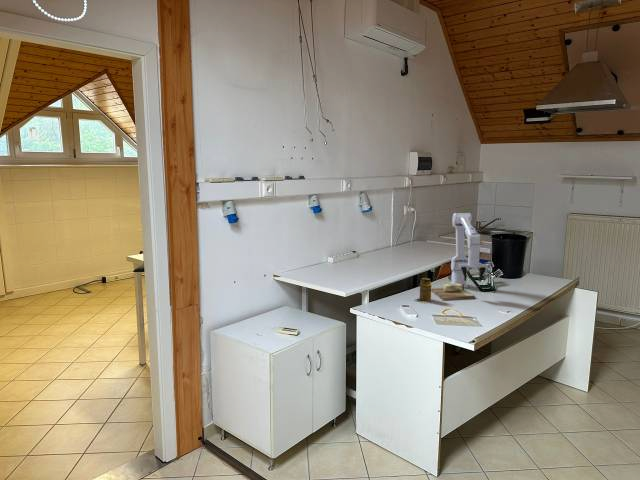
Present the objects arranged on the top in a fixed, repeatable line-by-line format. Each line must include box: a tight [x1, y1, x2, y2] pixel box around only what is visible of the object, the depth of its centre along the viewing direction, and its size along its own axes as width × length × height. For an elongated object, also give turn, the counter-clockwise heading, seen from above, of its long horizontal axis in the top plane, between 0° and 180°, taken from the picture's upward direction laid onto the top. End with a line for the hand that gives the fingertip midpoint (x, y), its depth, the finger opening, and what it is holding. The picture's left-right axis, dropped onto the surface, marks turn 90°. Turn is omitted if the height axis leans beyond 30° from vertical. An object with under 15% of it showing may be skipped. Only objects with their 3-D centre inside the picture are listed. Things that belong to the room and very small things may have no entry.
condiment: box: [414, 277, 434, 304], centre depth 258 cm, size 7×8×12 cm
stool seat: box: [431, 287, 476, 301], centre depth 268 cm, size 18×18×2 cm
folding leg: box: [442, 283, 465, 291], centre depth 271 cm, size 12×4×3 cm, turn 97°
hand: (472, 280), depth 261 cm, fingers open, 7 cm apart
